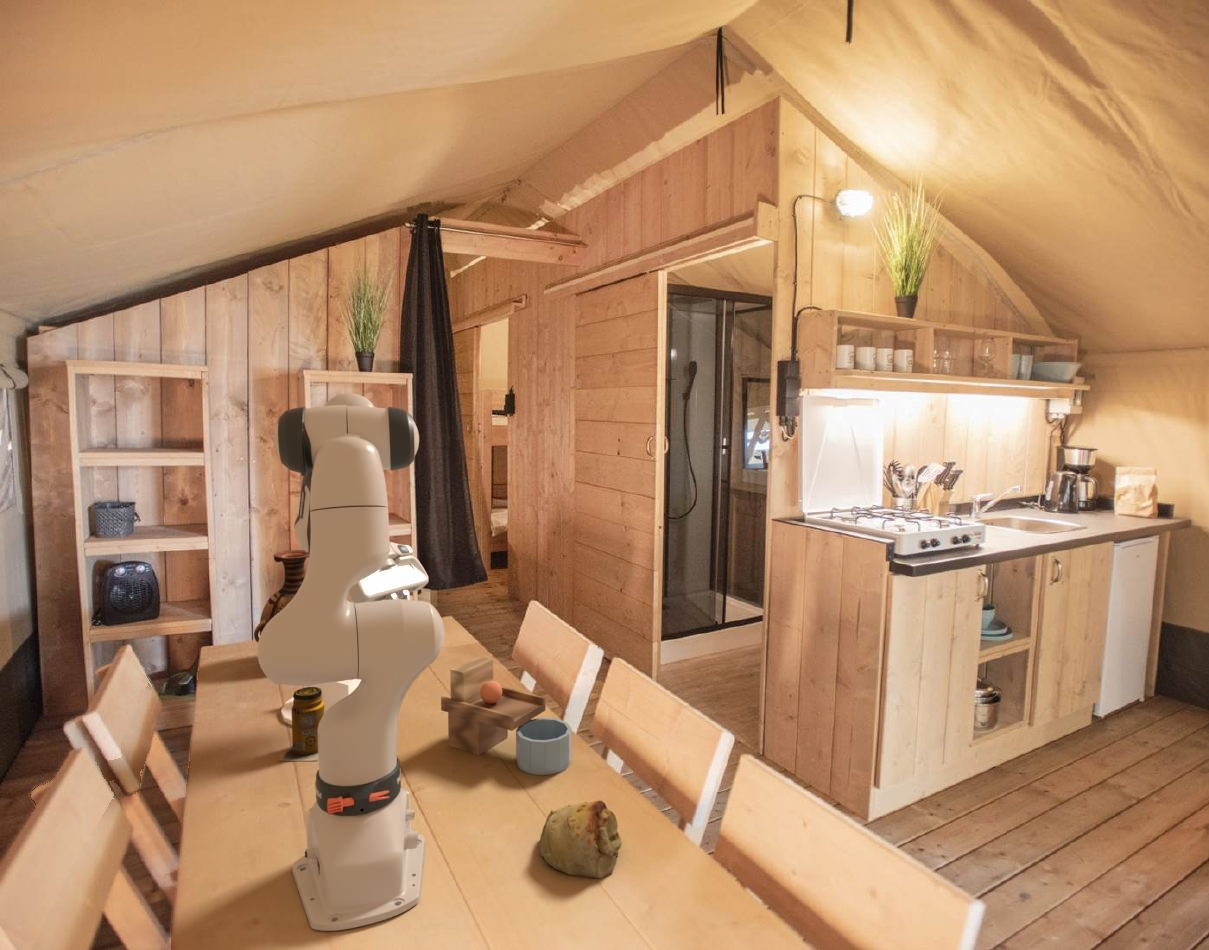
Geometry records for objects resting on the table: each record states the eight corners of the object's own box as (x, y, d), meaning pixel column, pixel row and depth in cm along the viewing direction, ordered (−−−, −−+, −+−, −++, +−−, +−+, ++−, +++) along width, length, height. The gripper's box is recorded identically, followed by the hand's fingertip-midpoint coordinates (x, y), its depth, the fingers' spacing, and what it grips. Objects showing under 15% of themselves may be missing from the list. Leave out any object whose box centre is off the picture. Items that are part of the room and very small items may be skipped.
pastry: (634, 873, 103) (634, 821, 102) (550, 890, 99) (550, 836, 98) (605, 821, 116) (605, 774, 116) (530, 834, 112) (530, 786, 112)
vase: (330, 645, 204) (327, 543, 201) (346, 664, 189) (343, 554, 187) (248, 660, 192) (244, 551, 189) (259, 680, 177) (254, 563, 175)
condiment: (332, 741, 144) (331, 684, 143) (317, 761, 136) (315, 701, 135) (296, 741, 144) (294, 684, 143) (279, 761, 136) (276, 701, 135)
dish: (412, 688, 173) (411, 643, 172) (368, 733, 148) (367, 681, 147) (317, 684, 176) (315, 640, 175) (258, 728, 151) (256, 677, 150)
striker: (450, 703, 141) (450, 669, 141) (480, 688, 149) (480, 656, 148) (464, 707, 139) (463, 672, 139) (493, 691, 147) (492, 659, 147)
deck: (441, 746, 142) (441, 697, 141) (477, 726, 151) (476, 680, 150) (512, 769, 133) (511, 717, 132) (545, 746, 142) (545, 697, 141)
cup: (578, 769, 133) (578, 736, 132) (525, 779, 129) (525, 745, 128) (560, 745, 142) (560, 714, 142) (511, 754, 138) (510, 723, 138)
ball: (504, 705, 140) (504, 683, 140) (482, 708, 139) (482, 686, 138) (499, 697, 144) (499, 676, 144) (478, 700, 143) (477, 679, 142)
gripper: (347, 559, 145) (379, 615, 141) (415, 545, 163) (445, 594, 160) (330, 576, 147) (362, 631, 144) (399, 560, 165) (428, 609, 162)
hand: (406, 612), depth 152 cm, fingers closed
